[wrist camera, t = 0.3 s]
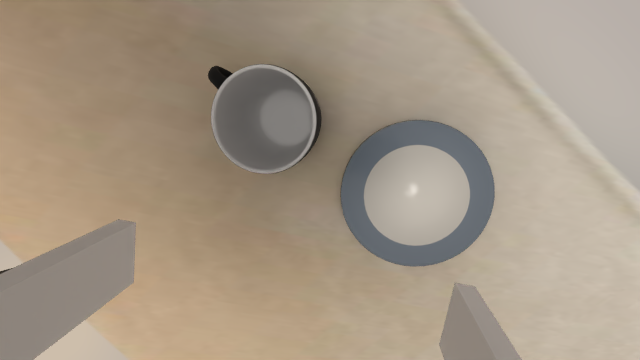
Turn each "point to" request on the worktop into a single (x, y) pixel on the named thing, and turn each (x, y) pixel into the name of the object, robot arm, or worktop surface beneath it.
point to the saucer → (417, 193)
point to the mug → (263, 117)
